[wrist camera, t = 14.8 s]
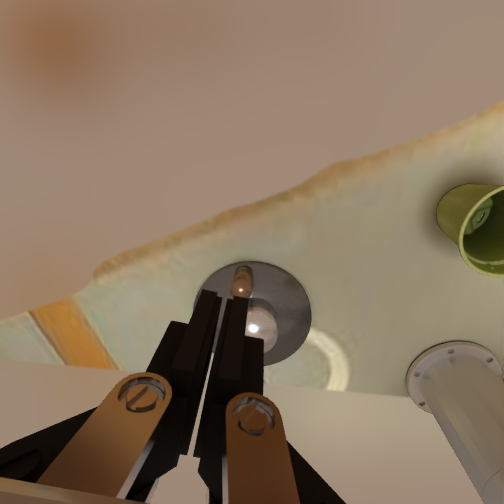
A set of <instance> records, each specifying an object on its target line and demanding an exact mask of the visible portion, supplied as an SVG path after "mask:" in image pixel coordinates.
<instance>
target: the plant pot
mask: <svg viewBox="0 0 504 504" xmlns="http://www.w3.org/2000/svg"><path fill="white" fill-rule="evenodd" d="M483 212H484V213H485V214H484V216H483V218H482V219H481V221H480V222H477V220H478V219H479V218H480V217H481V215H482V214H483ZM436 215H437V220H438V224H439V226H440V227H441V229H442V230H443V231H444V232H445V233H446V234H447V235H448V236H449V237H450V238H451V239H452V240H453V241H454V242H455V243H456V244H457V245H458V247H459V251H460V254H461V256H462V258H463V260H464V261H465V262H466V263H467V265H468V266H469V267H471V268H472V269H473V270H475V271H476V272H478V273H481V274H483V275H486V276H491V277H504V185H503V186H495V185H478V184H465V185H462V186H459V187H456V188H454V189H452V190H450V191H449V192H448V193H447V194H446V195H445V196H444V197H443V198H442V199H441V201H440V202H439V205H438V207H437V211H436Z"/></svg>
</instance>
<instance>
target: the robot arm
mask: <svg viewBox="0 0 504 504" xmlns="http://www.w3.org/2000/svg"><path fill="white" fill-rule="evenodd" d="M217 294H218V292H215V291H210V290H205V289H202V292H201V294H200V297H199V299H198V302H197V304H196V307H195V309H194V312H193V314H192V317H191V319H190V322H189V324H186V323H182V322H177V321H171V322H170V324H169V326H168V328H167V330H166V332H165V334H164V336H163V338H162V340H161V342H160V344H159V346H158V348H157V350H156V352H155V354H154V356H153V358H152V360H151V362H150V364H149V366H148V368H147V370H146V372H141V373H135V374H132V375H129V376H127V377H126V378H123V379H122V380H121V381H120V382H118V383H117V384H116V385H115V387H114V388H113V389H112V390H111V392H110V393H109V394H108V395H107V396H106V398H105V399H104V400H103V402H102V403H101V404H100V405H99V406H98V407H96V408H93V409H91V410H88V411H86V412H84V413H81V414H79V415H77V416H74V417H72V418H69V419H67V420H64V421H62V422H60V423H58V424H55V425H53V426H50V427H48V428H46V429H43V430H41V431H38V432H36V433H34V434H31V435H29V436H26V437H24V438H22V439H19V440H17V441H14V442H12V443H10V444H8V445H6V446H5V447H3V448H1V449H0V504H149V503H150V501H151V499H152V497H153V494H154V492H155V490H156V488H157V485H158V482H159V478H160V476H162V475H163V474H165V473H167V472H168V471H170V470H171V469H173V468H174V467H176V466H177V463H178V459H179V455H180V454H182V455H187V453H188V449H189V445H190V441H191V437H192V433H193V429H194V425H195V421H196V417H197V413H198V409H199V405H200V400H201V396H202V392H203V388H204V384H205V380H206V376H207V372H208V368H209V364H210V359H211V354H212V349H213V344H214V339H215V334H216V329H217V324H218V319H219V314H220V309H221V304H222V298H223V297H219V296H217ZM248 303H249V298H244V297H239V296H234V298H233V299H229V298H227V302H226V306H225V311H224V315H223V319H222V323H221V328H220V332H219V336H218V340H217V345H216V349H215V353H214V357H213V362H212V366H211V370H210V375H209V380H208V384H207V389H206V394H205V399H204V404H203V410H202V414H201V419H200V424H199V429H198V434H197V439H196V444H195V449H194V454H193V457H198V458H200V463H199V468H198V473H199V475H200V476H201V478H202V479H203V481H204V482H205V484H206V485H207V487H208V488H207V493H206V504H346V503H345V502H344V501H343V500H342V499H341V498H340V497H339V496H338V495H337V493H336V492H335V491H334V490H333V489H332V488H331V487H330V486H329V485H328V484H327V483H326V482H325V481H324V480H323V479H322V478H321V476H320V475H319V474H318V473H317V472H316V471H315V470H314V469H313V468H312V467H311V466H310V465H309V464H308V463H307V461H306V460H305V459H304V458H303V457H302V456H301V455H300V454H299V453H298V452H297V451H296V450H295V449H294V448H293V447H292V445H291V444H290V443H289V442H288V441H287V440H286V436H285V431H284V426H283V421H282V418H281V415H280V412H279V409H278V408H277V407H276V405H275V404H274V403H273V402H272V401H271V400H269V399H268V398H267V397H265V396H263V373H264V339H261V338H256V337H251V336H246V335H245V330H246V321H247V312H248ZM406 386H407V391H408V393H409V395H410V397H411V398H412V400H413V402H414V403H415V404H416V405H417V406H418V407H420V408H421V409H423V410H424V411H427V412H429V413H432V414H433V415H434V417H435V418H436V420H437V422H438V424H439V425H440V427H441V429H442V431H443V432H444V434H445V436H446V438H447V440H448V441H449V443H450V445H451V447H452V448H453V450H454V452H455V453H456V455H457V457H458V459H459V461H460V462H461V464H462V466H463V467H464V469H465V471H466V473H467V474H468V476H469V478H470V480H471V482H472V483H473V485H474V487H475V489H476V490H477V492H478V494H479V496H480V497H481V499H482V501H483V503H484V504H504V381H503V380H502V368H501V365H500V363H499V361H498V360H497V359H496V357H495V356H494V355H493V354H492V353H491V352H490V351H488V350H487V349H486V348H484V347H482V346H480V345H478V344H475V343H470V342H460V341H457V342H448V343H444V344H440V345H438V346H435V347H433V348H431V349H429V350H427V351H426V352H424V353H423V354H422V355H420V356H419V357H418V358H417V359H416V360H415V361H414V362H413V364H412V365H411V367H410V369H409V370H408V374H407V377H406Z"/></svg>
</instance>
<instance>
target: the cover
mask: <svg viewBox="0 0 504 504" xmlns="http://www.w3.org/2000/svg"><path fill="white" fill-rule="evenodd" d="M245 335H246V336H251V337H256V338H261V339H264V353H265V352H267V351H269V350H270V349H271V348H272V347H273V346H274V345H275V343H276V341H277V336H278V333H277V313H276V310H275V308H274V307H273V306H272V305H271V304H270V303H269V302H268V301H266V300H264V299H261V298H249V303H248V312H247V321H246V330H245Z"/></svg>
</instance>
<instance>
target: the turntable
mask: <svg viewBox="0 0 504 504" xmlns="http://www.w3.org/2000/svg"><path fill="white" fill-rule="evenodd" d="M202 289H205V290H210V291H215V292H218V294H217V296H219V297H223V298H222V304H221V309H220V314H219V319H218V324H217V329H216V334H215V339H214V344H213V349H212V352H213V353H215V349H216V345H217V340H218V336H219V332H220V328H221V323H222V319H223V315H224V311H225V306H226V302H227V298H229V299H233V298H234V296H239V297H244V298H261V299H264V300H266V301H268V302H269V303H270V304H271V305H272V306H273V307H274V308H275V310H276V313H277V333H278V336H277V341H276V343H275V345H274V346H273V347H272V348H271V349H270V350H269V351H267V352H265V353H264V366H267V365H271V364H275V363H278V362H280V361H282V360H284V359H286V358H288V357H289V356H291V355H292V354H293V353H295V352H296V351H297V350H298V349H299V348H300V346H301V345H302V344H303V343H304V341H305V339H306V338H307V335H308V333H309V330H310V326H311V310H310V305H309V301H308V298H307V295H306V293H305V291H304V290H303V288H302V287H301V285H300V284H299V283H298V282H297V281H296V280H295V279H294V278H293V277H292V276H291V275H290V274H288V273H287V272H285V271H284V270H282V269H280V268H278V267H275V266H273V265H270V264H266V263H261V262H240V263H235V264H232V265H229V266H226V267H224V268H222V269H220V270H218V271H217V272H215V273H214V274H212V275H211V276H210V277H209V278H208V279H207V280H206V281H205V283H204V284H203V285H202V287H201V289H200V290H199V293H198V295H197V297H196V300H195V303H194V309H195V307H196V304H197V302H198V299H199V297H200V294H201V292H202ZM194 309H193V312H194Z"/></svg>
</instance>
